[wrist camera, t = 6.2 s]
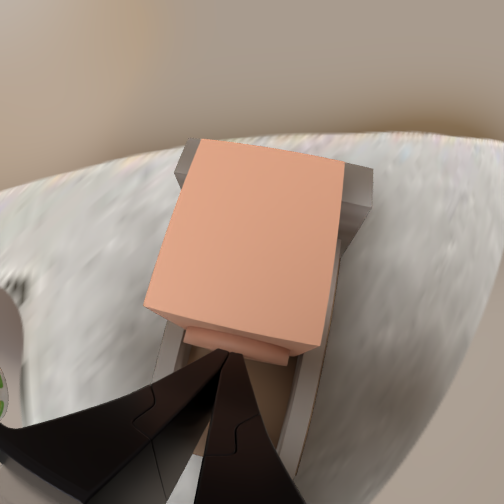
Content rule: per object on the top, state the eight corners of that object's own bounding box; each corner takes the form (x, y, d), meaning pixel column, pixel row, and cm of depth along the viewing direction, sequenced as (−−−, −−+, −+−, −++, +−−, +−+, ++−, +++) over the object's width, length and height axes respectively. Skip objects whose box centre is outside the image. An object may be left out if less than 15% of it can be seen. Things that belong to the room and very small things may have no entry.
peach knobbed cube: (291, 368, 15) (316, 368, 8) (193, 346, 15) (137, 325, 8) (314, 245, 17) (344, 161, 10) (224, 228, 18) (201, 138, 11)
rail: (294, 471, 14) (311, 522, 8) (149, 435, 15) (92, 462, 9) (341, 232, 19) (373, 169, 13) (209, 207, 20) (188, 137, 14)
